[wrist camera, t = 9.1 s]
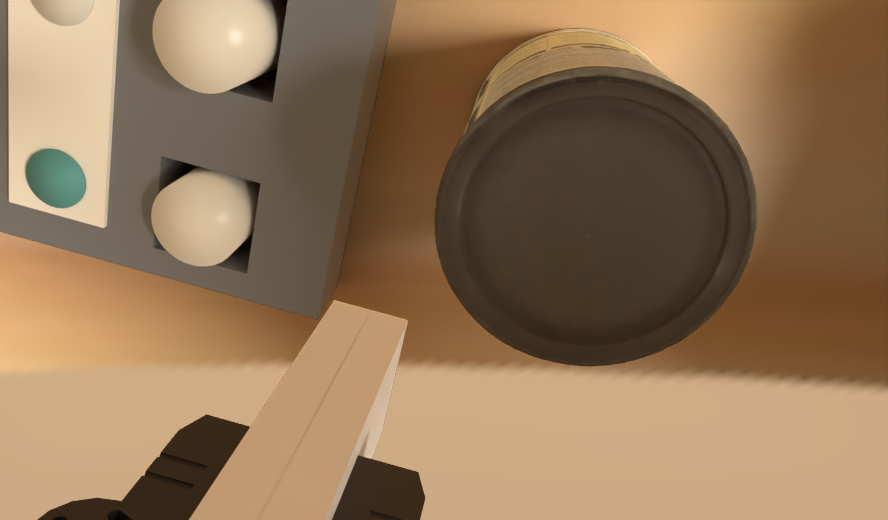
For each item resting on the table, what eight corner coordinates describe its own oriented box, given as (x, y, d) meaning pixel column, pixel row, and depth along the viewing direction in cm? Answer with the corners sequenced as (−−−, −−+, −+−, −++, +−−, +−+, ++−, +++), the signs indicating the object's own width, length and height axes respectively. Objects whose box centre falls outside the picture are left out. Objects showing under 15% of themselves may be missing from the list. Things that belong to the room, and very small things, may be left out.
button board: (446, -245, 31) (432, -275, 27) (336, 287, 41) (314, 324, 37) (40, -354, 31) (-36, -401, 27) (33, 203, 42) (-22, 230, 37)
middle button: (298, -7, 34) (261, -1, 29) (284, 85, 36) (247, 105, 31) (207, -32, 34) (156, -29, 29) (198, 62, 36) (148, 78, 31)
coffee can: (707, 179, 37) (801, 303, 24) (521, 257, 39) (513, 406, 26) (631, -15, 34) (690, 5, 21) (434, 84, 36) (378, 157, 23)
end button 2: (279, 166, 39) (244, 194, 34) (267, 239, 40) (233, 276, 36) (199, 144, 39) (155, 170, 34) (191, 218, 41) (148, 252, 36)
